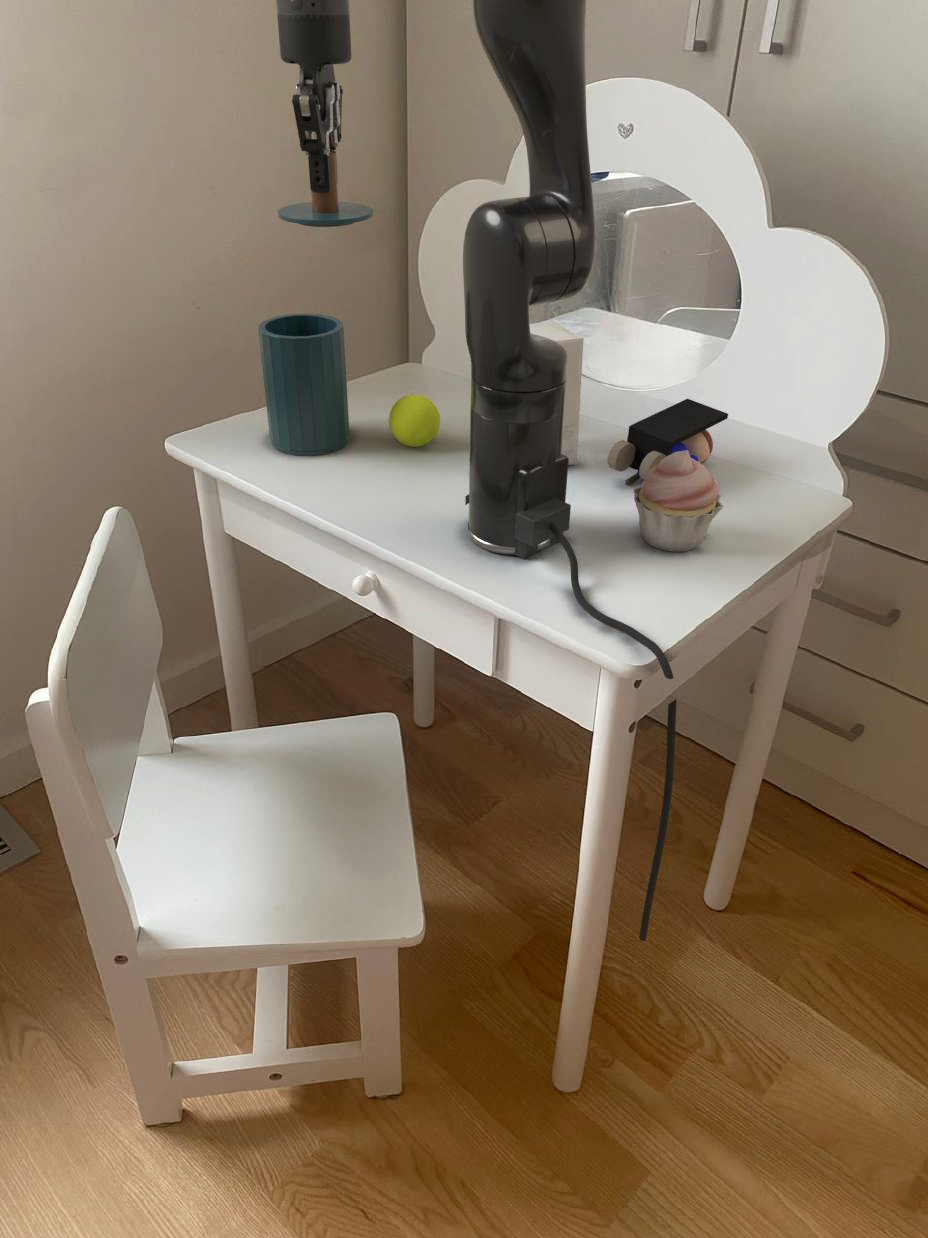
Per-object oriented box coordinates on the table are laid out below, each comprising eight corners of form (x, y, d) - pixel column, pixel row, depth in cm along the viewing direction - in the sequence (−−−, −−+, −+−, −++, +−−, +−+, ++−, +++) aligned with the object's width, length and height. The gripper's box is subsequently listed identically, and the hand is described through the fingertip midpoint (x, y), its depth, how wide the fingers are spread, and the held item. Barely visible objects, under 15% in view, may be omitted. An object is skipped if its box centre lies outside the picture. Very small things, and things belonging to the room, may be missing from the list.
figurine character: (649, 514, 109) (725, 463, 117) (653, 455, 105) (731, 406, 112) (603, 495, 113) (679, 447, 121) (604, 437, 109) (683, 391, 116)
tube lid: (393, 221, 111) (391, 154, 107) (316, 234, 105) (311, 163, 101) (334, 207, 118) (331, 143, 114) (259, 219, 111) (252, 151, 107)
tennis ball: (450, 445, 122) (450, 396, 118) (412, 459, 118) (411, 409, 114) (417, 430, 125) (416, 383, 122) (379, 443, 122) (377, 395, 118)
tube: (365, 441, 122) (360, 326, 114) (300, 462, 117) (290, 343, 108) (319, 419, 128) (310, 308, 120) (255, 438, 123) (242, 324, 114)
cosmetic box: (577, 465, 117) (588, 338, 108) (528, 473, 115) (535, 344, 106) (547, 440, 123) (555, 318, 115) (500, 447, 121) (504, 323, 113)
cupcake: (730, 557, 98) (747, 467, 93) (642, 562, 97) (654, 472, 92) (699, 515, 106) (713, 430, 100) (617, 520, 105) (627, 434, 99)
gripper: (333, 12, 94) (344, 201, 103) (361, 9, 105) (368, 179, 115) (259, 10, 94) (276, 199, 104) (294, 8, 106) (307, 177, 116)
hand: (324, 188), depth 109 cm, fingers closed on tube lid, 3 cm apart
